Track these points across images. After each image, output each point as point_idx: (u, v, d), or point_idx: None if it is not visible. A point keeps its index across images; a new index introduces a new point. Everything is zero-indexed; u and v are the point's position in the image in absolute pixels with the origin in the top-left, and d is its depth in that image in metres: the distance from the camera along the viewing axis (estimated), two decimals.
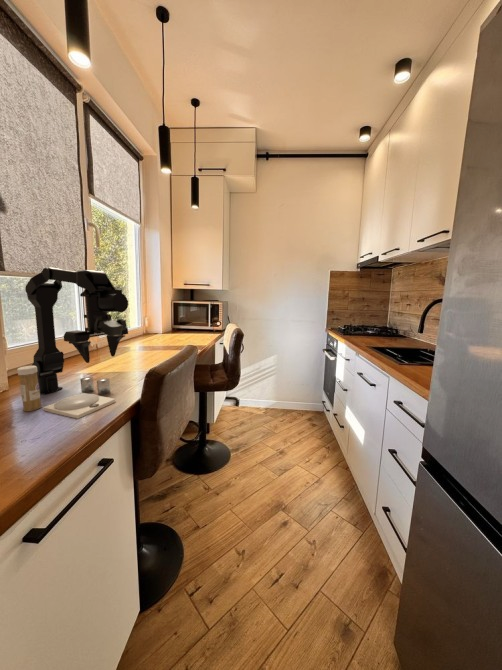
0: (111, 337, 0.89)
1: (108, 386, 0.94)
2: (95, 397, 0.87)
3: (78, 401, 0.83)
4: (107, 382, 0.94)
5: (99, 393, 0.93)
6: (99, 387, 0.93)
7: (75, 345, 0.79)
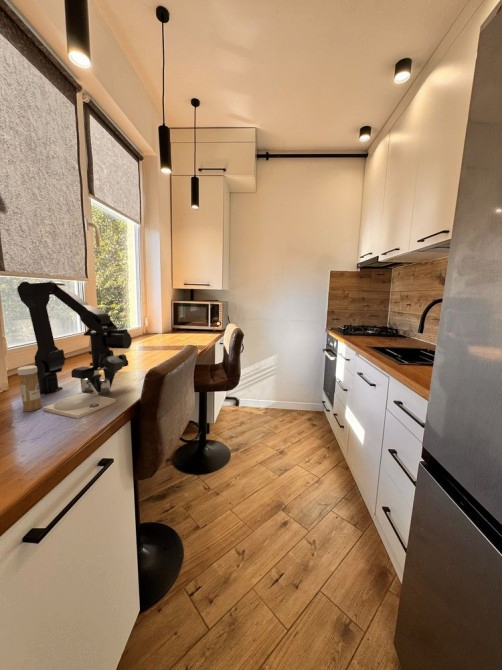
0: (107, 370, 0.96)
1: (108, 386, 0.94)
2: (95, 397, 0.87)
3: (78, 401, 0.83)
4: (107, 382, 0.94)
5: (99, 393, 0.93)
6: None
7: (88, 377, 0.91)
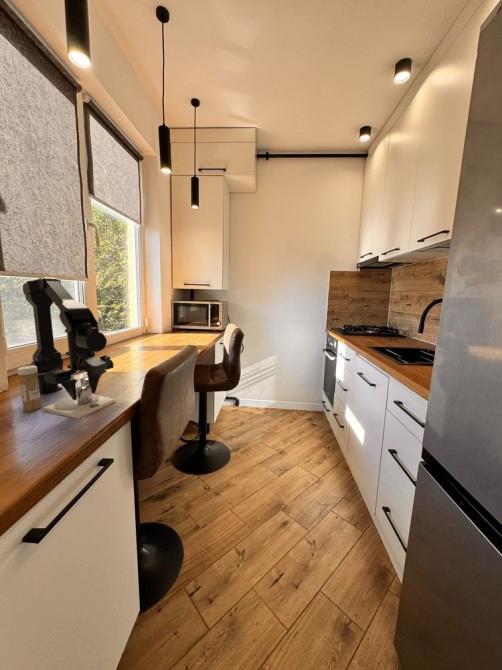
0: None
1: (89, 394, 0.82)
2: (95, 397, 0.87)
3: None
4: (88, 390, 0.81)
5: (79, 403, 0.81)
6: (79, 396, 0.80)
7: (62, 383, 0.78)
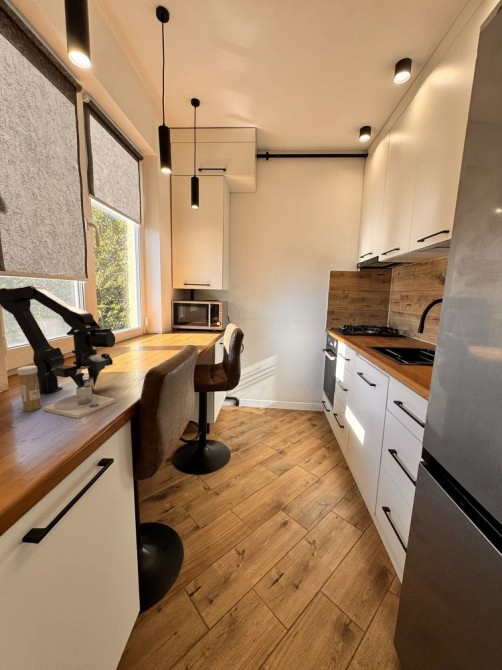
0: (91, 369, 0.98)
1: (89, 394, 0.82)
2: (95, 397, 0.87)
3: None
4: (88, 390, 0.81)
5: (79, 403, 0.81)
6: (79, 396, 0.80)
7: (71, 376, 0.92)
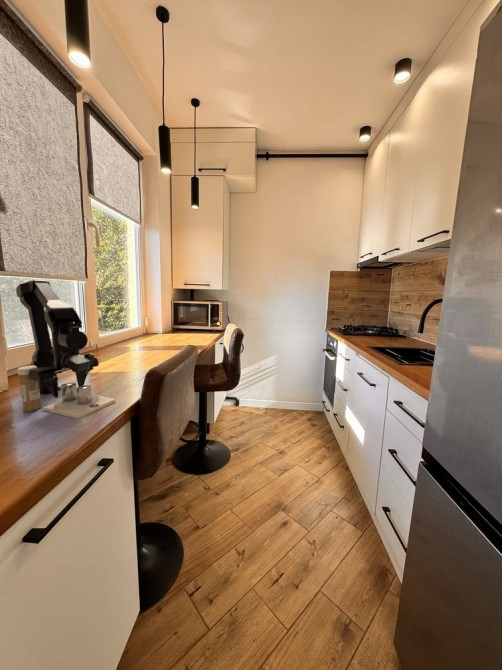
0: None
1: (89, 395, 0.82)
2: (95, 397, 0.87)
3: None
4: (88, 390, 0.81)
5: (79, 403, 0.81)
6: (79, 396, 0.80)
7: (43, 381, 0.79)
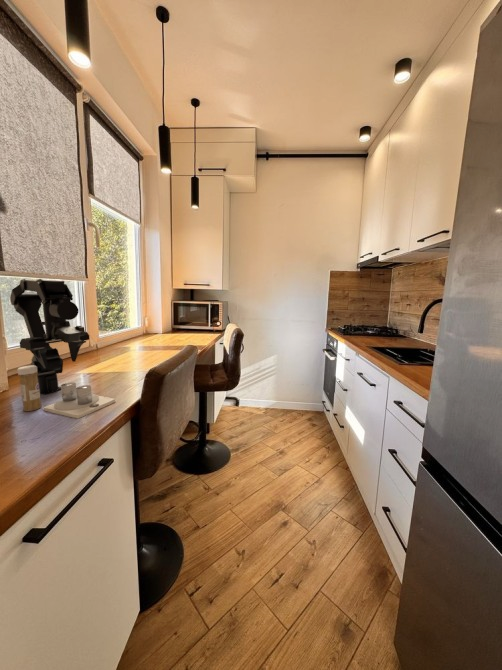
0: (72, 343, 0.92)
1: (89, 395, 0.82)
2: (95, 397, 0.87)
3: None
4: (88, 390, 0.81)
5: (79, 403, 0.81)
6: (79, 396, 0.80)
7: (32, 351, 0.81)
